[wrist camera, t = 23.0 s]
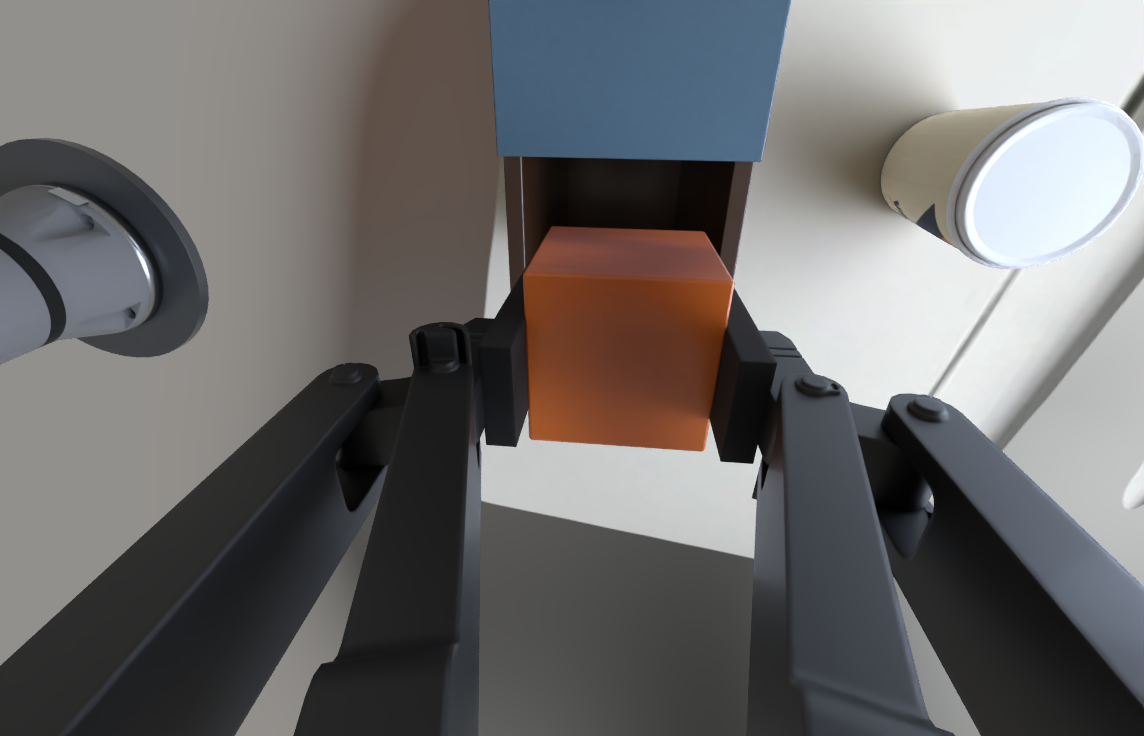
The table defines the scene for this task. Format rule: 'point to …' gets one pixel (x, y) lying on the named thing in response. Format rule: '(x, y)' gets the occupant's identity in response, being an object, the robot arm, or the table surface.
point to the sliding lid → (635, 77)
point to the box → (623, 200)
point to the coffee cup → (1017, 178)
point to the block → (624, 336)
